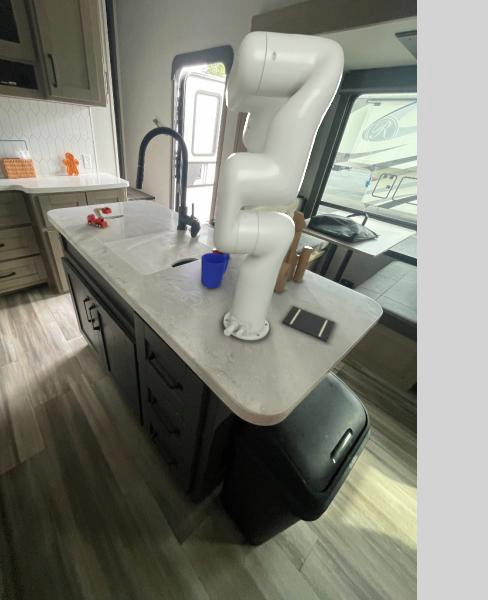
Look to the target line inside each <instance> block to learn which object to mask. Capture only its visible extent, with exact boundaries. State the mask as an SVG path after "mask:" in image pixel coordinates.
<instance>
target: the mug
mask: <svg viewBox="0 0 488 600" xmlns="http://www.w3.org/2000/svg"><path fill="white" fill-rule="evenodd" d="M200 259H201V262H200V263H201V264H200V265H201V266H200V267H201V268H200V275H201V276H200V282H201V284H202V286H203V287H204V288H206V289H217V288H219V287H221V285H222V282H223V278H224V275H225V273H226V271H227V269H228V265H229V261H230V259H229V255H228V254H224V255H221V254H217V253H213V252H207V253H203V255H201V258H200Z"/></svg>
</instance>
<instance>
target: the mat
mask: <svg viewBox="0 0 488 600" xmlns="http://www.w3.org/2000/svg"><path fill="white" fill-rule="evenodd" d="M282 324H283V325H286V326H289V327H290V328H293V329H294V330H298V331H300V332H302V333H305V334H307V335H309V336H312V337H314V338H316V339H318V340H320V341H323V342H327V340H328V338H329V336H330V334H331V331H332V329H333V326H334V324H335V321H333V320H330V319H327V318H324V317H322V316H319V315H317V314H314V313H312V312H309V311H307V310H305V309H302V308H300V307H297V306H293V308H292V309H291V310H290V312H289V313H288V314H287V316H286V318H285V319H284V320H283V322H282Z"/></svg>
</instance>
